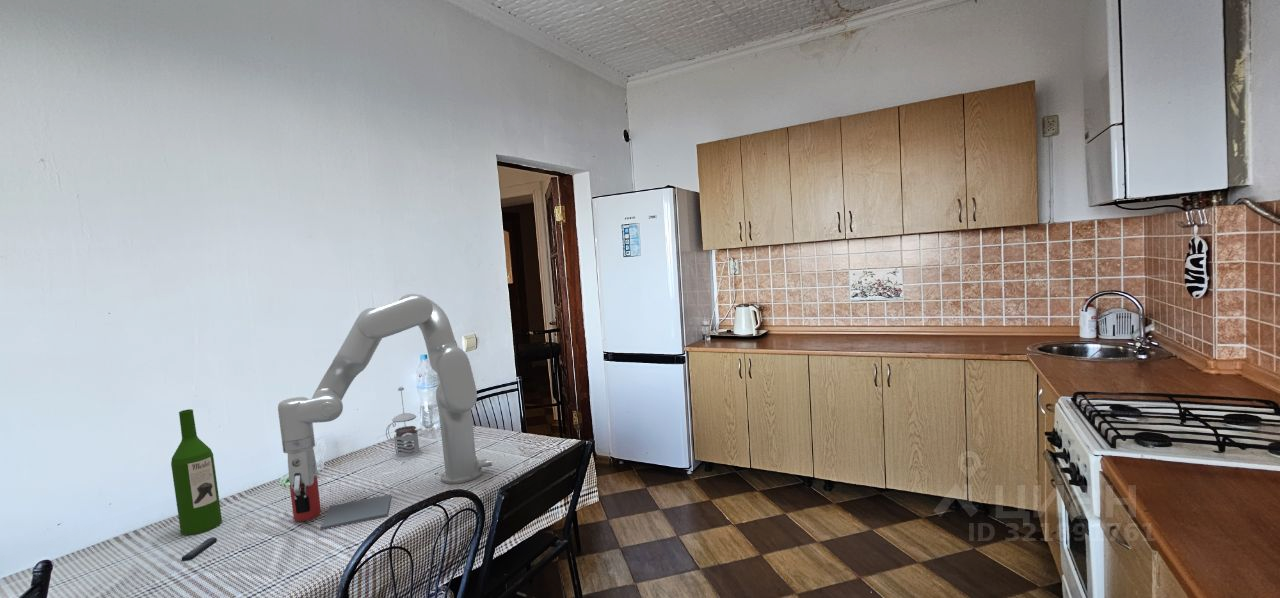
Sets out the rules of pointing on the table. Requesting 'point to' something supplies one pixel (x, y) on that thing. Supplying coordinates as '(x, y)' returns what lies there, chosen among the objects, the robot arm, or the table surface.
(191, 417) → the wine bottle
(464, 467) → the robot arm
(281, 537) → the table surface
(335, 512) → the mat
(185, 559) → the usb stick
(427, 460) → the table surface
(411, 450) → the french press
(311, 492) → the beer can
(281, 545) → the table surface
